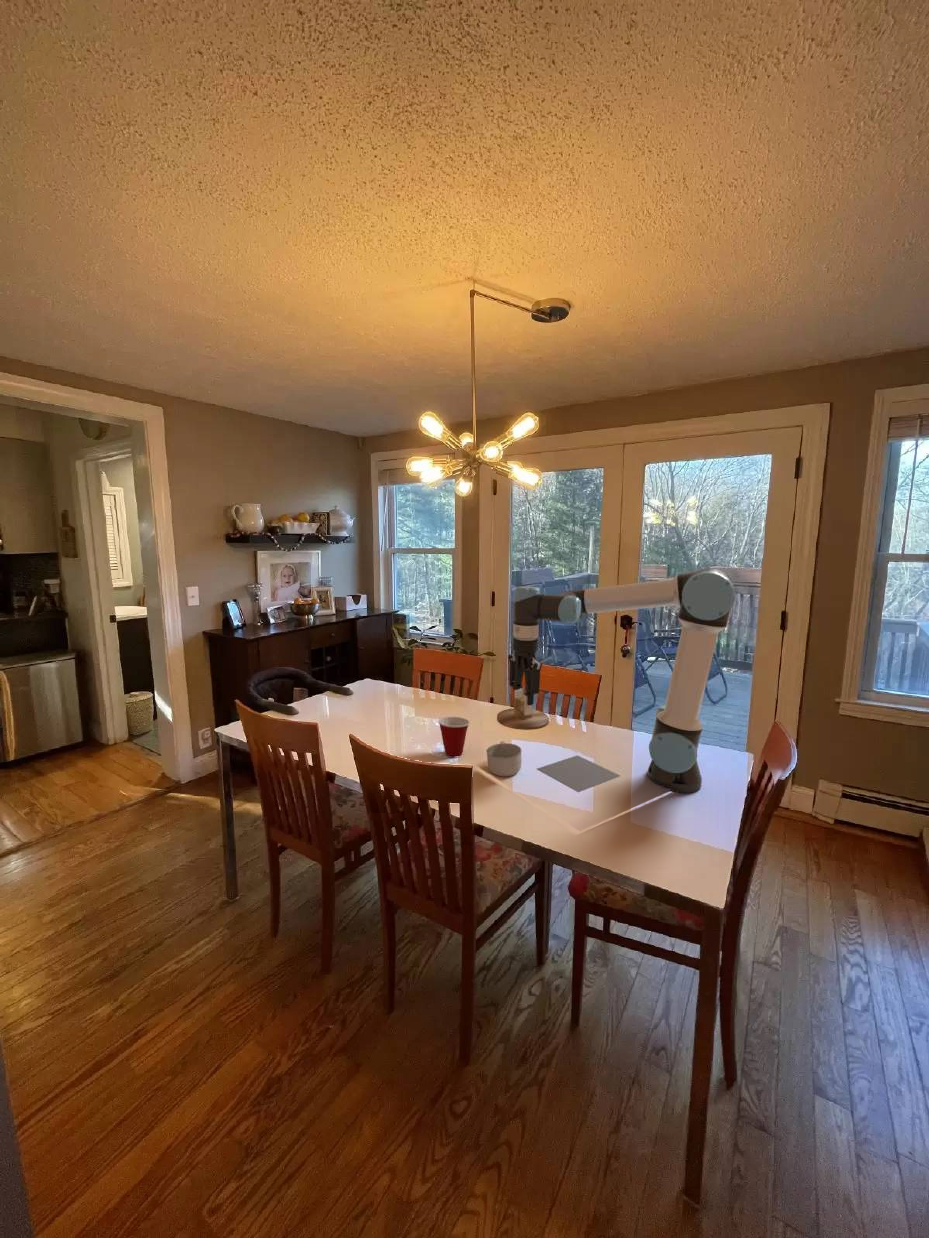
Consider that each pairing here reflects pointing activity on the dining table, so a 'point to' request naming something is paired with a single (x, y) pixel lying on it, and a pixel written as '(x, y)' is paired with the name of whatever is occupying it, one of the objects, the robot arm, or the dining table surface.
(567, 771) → the mat
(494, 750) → the teacup
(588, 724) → the dining table surface
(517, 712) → the lid
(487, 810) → the dining table surface
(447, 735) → the plastic cup
